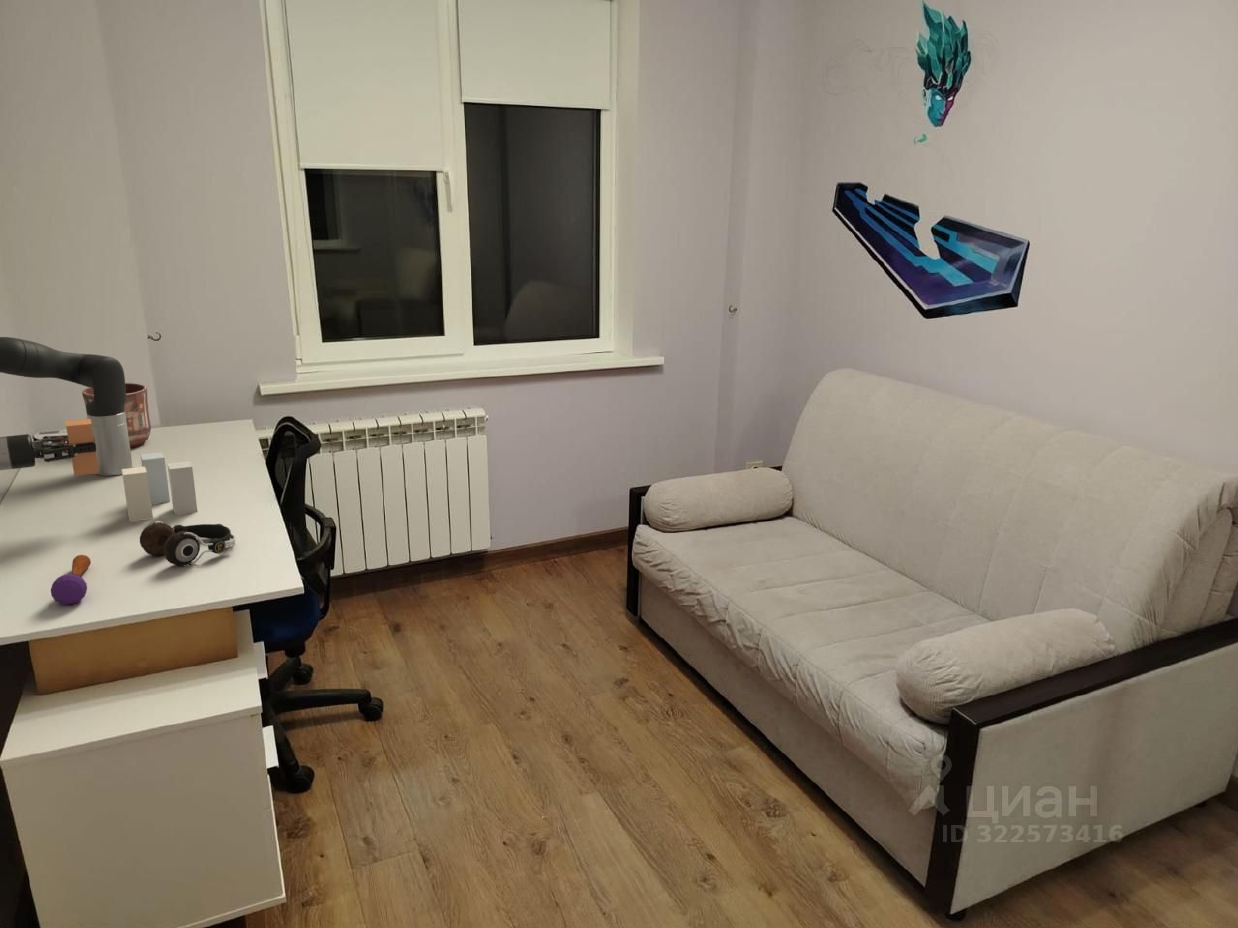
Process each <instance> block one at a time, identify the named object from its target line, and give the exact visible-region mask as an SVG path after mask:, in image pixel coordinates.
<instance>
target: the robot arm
mask: <svg viewBox="0 0 1238 928" xmlns="http://www.w3.org/2000/svg"><path fill="white" fill-rule="evenodd" d="M0 373H3V374H7V375H12V376H17V377H24V378H31V379H32V378H35V379H46V378H47V379H48V378H49V379H52V378H53V379H59V380H62V381H66V382H71V383H74V384H77V385H81V386H84V387H86V388H89V387H90V388H93V391H94V400H93V401H91V402H89V403H87V404H86V406H85V412H86V417H87V418H86V419H91V424H92V430H93V437H94V442H88V443H79V444H77V446H76V444H69V441H68V435H67V434H64V435H62V434H61V435H51V436H50V435H44V436H42V439H41V440H39V441H38V440H37V441H33V440H32V436H31V435H30V434H28V433H25V434H15V435H7V436H0V471H7V470H9V471H10V470H16V469H26V468H32V467H33V468H34V467H35V466H36V459H43V460H44V462H45V463H49V462H55V461H61V460H65V459H66V460H67V459H71V458H73V457H75V455H77V454H78V453H87V452H95V451H96V456H97V462H98V468H99V473H95V474H96V475H98V476H103V477H104V476H106V477H107V476H108V477H109V476H119V475H122V469H128V468H134V466H133V460H132V453H131V448H130V444H129V437H128V429H127V422H126V416H125V408H124V405H125V402H126V387H125V383H126V377H125V372H124V368H123V365H122V364H121V362H120V361H119V360H118V359H116V358H114V357H111V356H106V355H100V354H92V353H90V354H89V353H88V354H86V353H76V352H74V353H73V352H67V351H60V350H57V349H54V348H52V347H49V346H48V345H44V344H42V343H39V342H35V341H31V340H27V339H22V338H16V337H9V336H0Z"/></svg>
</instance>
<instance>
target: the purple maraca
mask: <svg viewBox="0 0 1238 928" xmlns="http://www.w3.org/2000/svg"><path fill="white" fill-rule="evenodd" d="M91 563H92V561H91V558H90V556H88V555H86V554H78V555H76V556H74V558H73V559H72V563H71V573H68V574H62V575H60V576H58V577H57V578H56V579H55V580H54V581H53V583H52V584H51V587H50V594H51V595H50V596H51V597H52V598H53V600H54V601H55V602H57V603H59V604H61V605H65V606H66V605H67V606H70V605H74V604H77V603H79V602H81V601H82V600H83V599H84V598H85V596H86V593H87V591H88V583H87V582H86V581H85V579H84V578H83V577H82V575H83V574H84V572H85V571H86V570H87V569H88V568H89V567H90V566H91Z"/></svg>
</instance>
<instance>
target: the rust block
mask: <svg viewBox="0 0 1238 928" xmlns="http://www.w3.org/2000/svg"><path fill="white" fill-rule="evenodd" d="M65 428H66V433H67V434H66V435H68V441H69V444H76V446H77V444H79V443H88V442H94V437H93V430H92V424H91V419H87V418H86V419H85V418H84V419H74V420H65ZM70 459H71V464H72V469H73V476H74V477H75V476H84V475H94V474H96V473H99V468H98V462H97V456H96V451H95V452H87V453H78V454H77V455H75V457H73V458H70Z"/></svg>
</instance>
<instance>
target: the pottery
mask: <svg viewBox="0 0 1238 928" xmlns="http://www.w3.org/2000/svg"><path fill="white" fill-rule="evenodd" d="M125 387H126V402H125V405H124V408H125V416H126V422H127V429H128V437H129V444H130V449H134V448H138V447H140V446H142V445H144V444H145V443H146V442H147V440H149V437H150V435H151V430H152V425H151V418H150V413H149V403H148V387H147V386H146V385H143V384H140V383H134V382H133V383H132V382H131V383H130V382H125ZM81 393H82V394H81V395H82V399H83V401H84V402H83V403H84V405H85V407H86V404H87V403H89V402H91V401H93V400H94V391H93V388H90V387H86V388H85V389H83V390H82V391H81Z"/></svg>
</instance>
